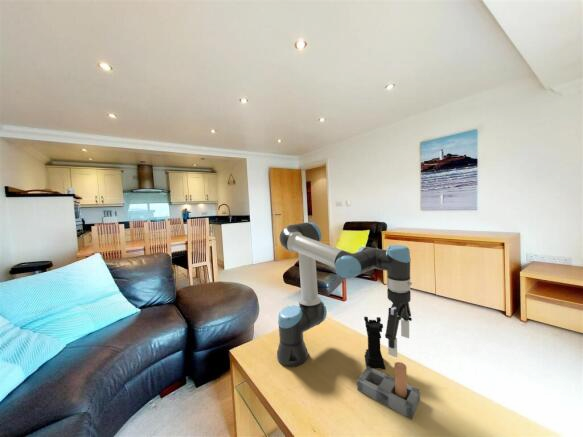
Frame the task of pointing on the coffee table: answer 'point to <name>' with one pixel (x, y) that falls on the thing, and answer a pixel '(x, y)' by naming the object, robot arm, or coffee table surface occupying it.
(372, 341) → the chess piece
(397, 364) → the dowel
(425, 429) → the coffee table surface
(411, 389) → the socket board
